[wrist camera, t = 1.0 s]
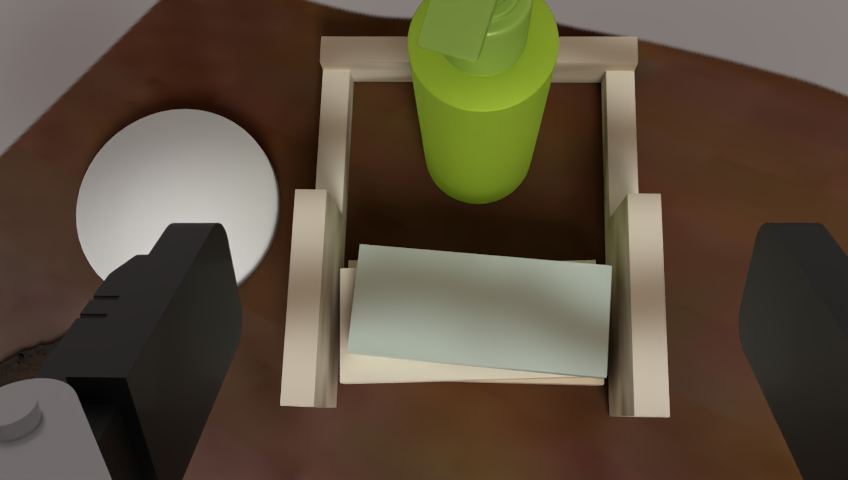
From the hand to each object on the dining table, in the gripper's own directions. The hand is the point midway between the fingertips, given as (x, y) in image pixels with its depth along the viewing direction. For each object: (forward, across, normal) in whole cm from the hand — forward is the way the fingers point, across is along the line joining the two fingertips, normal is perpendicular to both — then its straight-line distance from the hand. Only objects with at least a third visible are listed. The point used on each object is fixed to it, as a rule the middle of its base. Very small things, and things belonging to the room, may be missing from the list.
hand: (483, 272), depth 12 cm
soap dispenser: (+29, 0, +12) cm, 31 cm away
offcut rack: (+26, 0, +14) cm, 30 cm away
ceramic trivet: (+26, +16, +14) cm, 34 cm away
